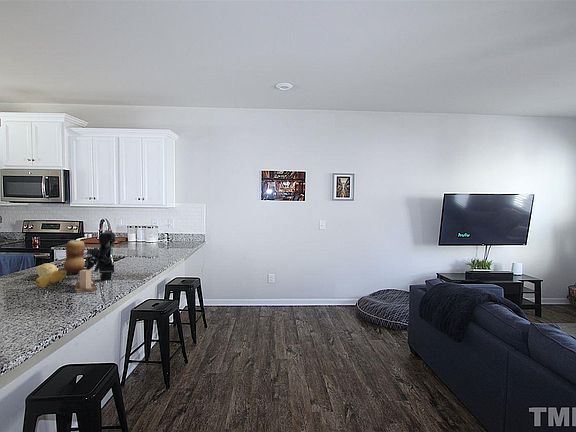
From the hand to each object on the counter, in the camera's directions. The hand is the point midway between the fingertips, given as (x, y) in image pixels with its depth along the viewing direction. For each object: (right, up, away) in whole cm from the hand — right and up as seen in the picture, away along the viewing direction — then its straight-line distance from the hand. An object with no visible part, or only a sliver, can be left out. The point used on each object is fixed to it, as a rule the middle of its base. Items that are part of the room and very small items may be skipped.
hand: (90, 271), depth 231 cm
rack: (-1, -11, -4) cm, 12 cm away
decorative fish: (-29, -10, +6) cm, 31 cm away
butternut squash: (-35, -8, +42) cm, 55 cm away
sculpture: (-43, -9, +24) cm, 51 cm away
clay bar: (+1, -10, -8) cm, 13 cm away
